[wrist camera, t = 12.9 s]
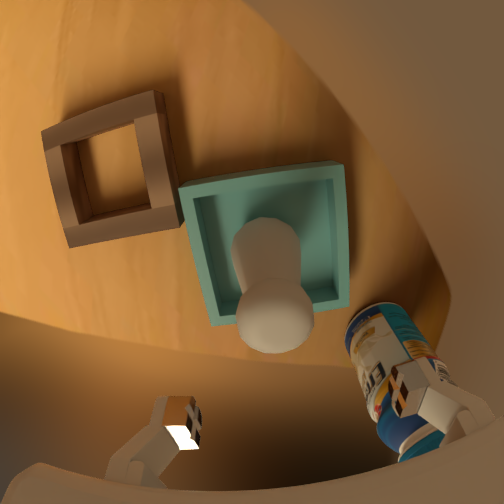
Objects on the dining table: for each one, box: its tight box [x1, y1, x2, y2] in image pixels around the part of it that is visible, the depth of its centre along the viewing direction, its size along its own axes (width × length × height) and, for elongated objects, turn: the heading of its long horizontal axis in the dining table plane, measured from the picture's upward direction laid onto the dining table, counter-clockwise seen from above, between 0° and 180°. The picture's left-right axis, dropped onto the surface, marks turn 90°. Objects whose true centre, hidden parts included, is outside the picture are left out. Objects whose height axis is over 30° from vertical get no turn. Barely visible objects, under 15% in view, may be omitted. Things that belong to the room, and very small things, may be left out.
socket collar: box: [41, 90, 185, 248], centre depth 24 cm, size 12×12×3 cm
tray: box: [178, 160, 349, 326], centre depth 27 cm, size 13×13×4 cm
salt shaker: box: [230, 217, 314, 353], centre depth 21 cm, size 6×6×13 cm
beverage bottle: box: [345, 302, 458, 463], centre depth 23 cm, size 8×8×20 cm
